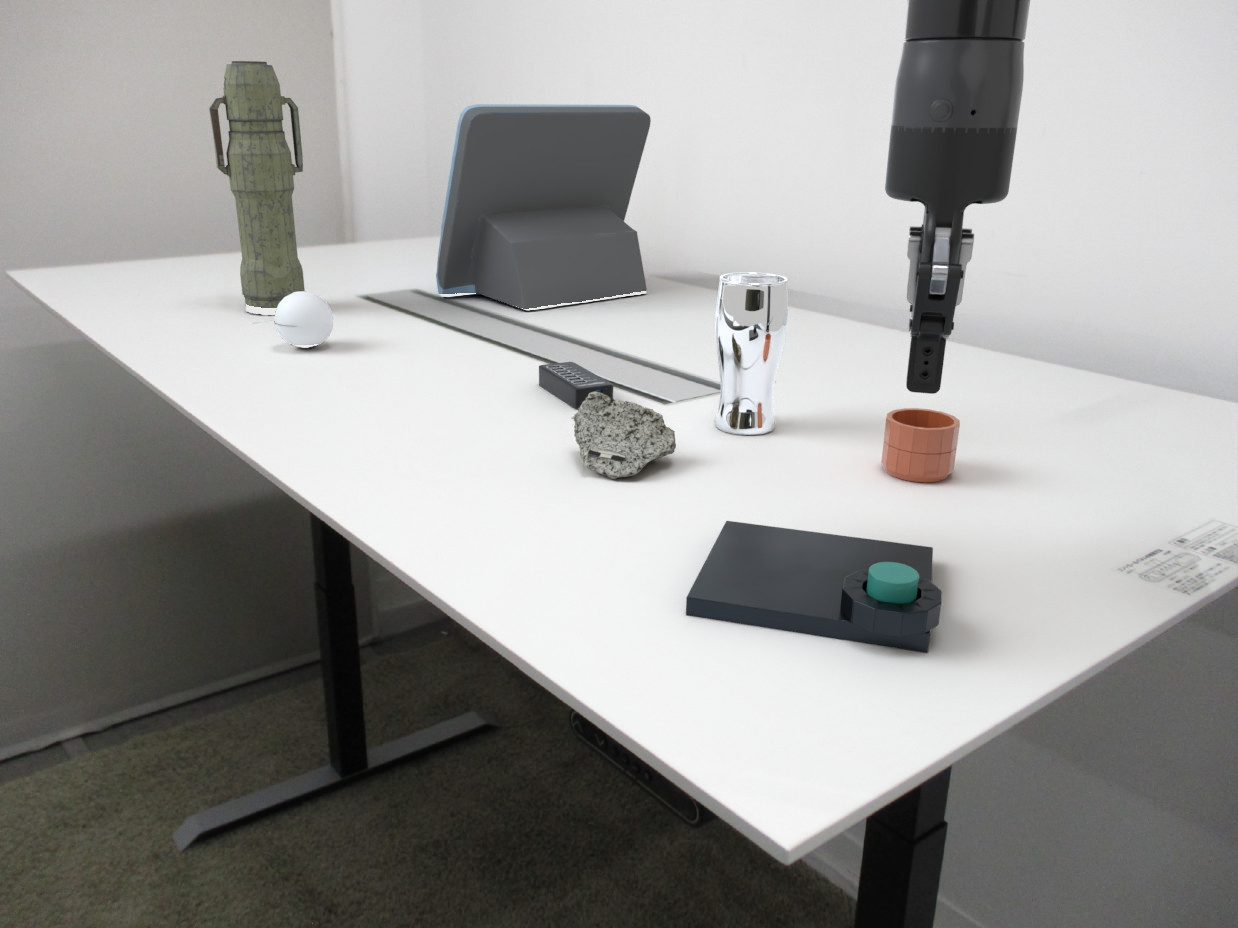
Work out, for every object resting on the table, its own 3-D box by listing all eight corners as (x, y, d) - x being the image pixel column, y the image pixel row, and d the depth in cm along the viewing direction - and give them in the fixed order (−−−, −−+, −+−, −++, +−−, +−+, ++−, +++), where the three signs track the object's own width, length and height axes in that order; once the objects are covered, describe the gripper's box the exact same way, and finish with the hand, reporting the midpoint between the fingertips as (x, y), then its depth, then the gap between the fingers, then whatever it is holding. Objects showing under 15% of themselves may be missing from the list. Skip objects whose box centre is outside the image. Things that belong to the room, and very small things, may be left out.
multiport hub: (572, 380, 118) (572, 360, 117) (614, 405, 108) (614, 384, 108) (537, 384, 116) (537, 364, 115) (577, 410, 106) (577, 389, 106)
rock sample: (555, 442, 84) (598, 360, 88) (542, 472, 92) (582, 395, 95) (665, 498, 85) (703, 414, 88) (643, 523, 92) (680, 445, 95)
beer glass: (783, 437, 99) (795, 285, 94) (712, 436, 99) (720, 283, 94) (774, 416, 105) (785, 272, 100) (708, 415, 105) (715, 271, 100)
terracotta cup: (952, 464, 92) (959, 412, 91) (952, 487, 87) (960, 432, 85) (882, 456, 94) (888, 405, 92) (878, 479, 88) (884, 425, 87)
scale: (937, 565, 72) (942, 527, 71) (935, 663, 60) (941, 618, 59) (725, 537, 76) (727, 500, 75) (681, 623, 64) (683, 580, 63)
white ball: (333, 339, 135) (328, 285, 133) (338, 352, 129) (333, 295, 126) (254, 344, 132) (248, 288, 129) (256, 358, 125) (249, 299, 123)
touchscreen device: (599, 274, 185) (603, 101, 174) (670, 294, 171) (680, 108, 160) (431, 296, 164) (424, 100, 153) (497, 320, 150) (495, 107, 139)
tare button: (917, 587, 63) (919, 565, 63) (915, 609, 61) (918, 586, 60) (868, 580, 64) (870, 558, 64) (864, 601, 61) (867, 578, 61)
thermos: (228, 308, 153) (197, 61, 141) (306, 301, 159) (283, 63, 147) (241, 319, 146) (210, 60, 134) (322, 311, 152) (299, 62, 140)
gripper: (1029, 124, 56) (986, 423, 62) (1008, 119, 68) (975, 370, 74) (889, 122, 57) (861, 413, 63) (893, 118, 69) (869, 362, 75)
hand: (922, 389), depth 68 cm, fingers closed
